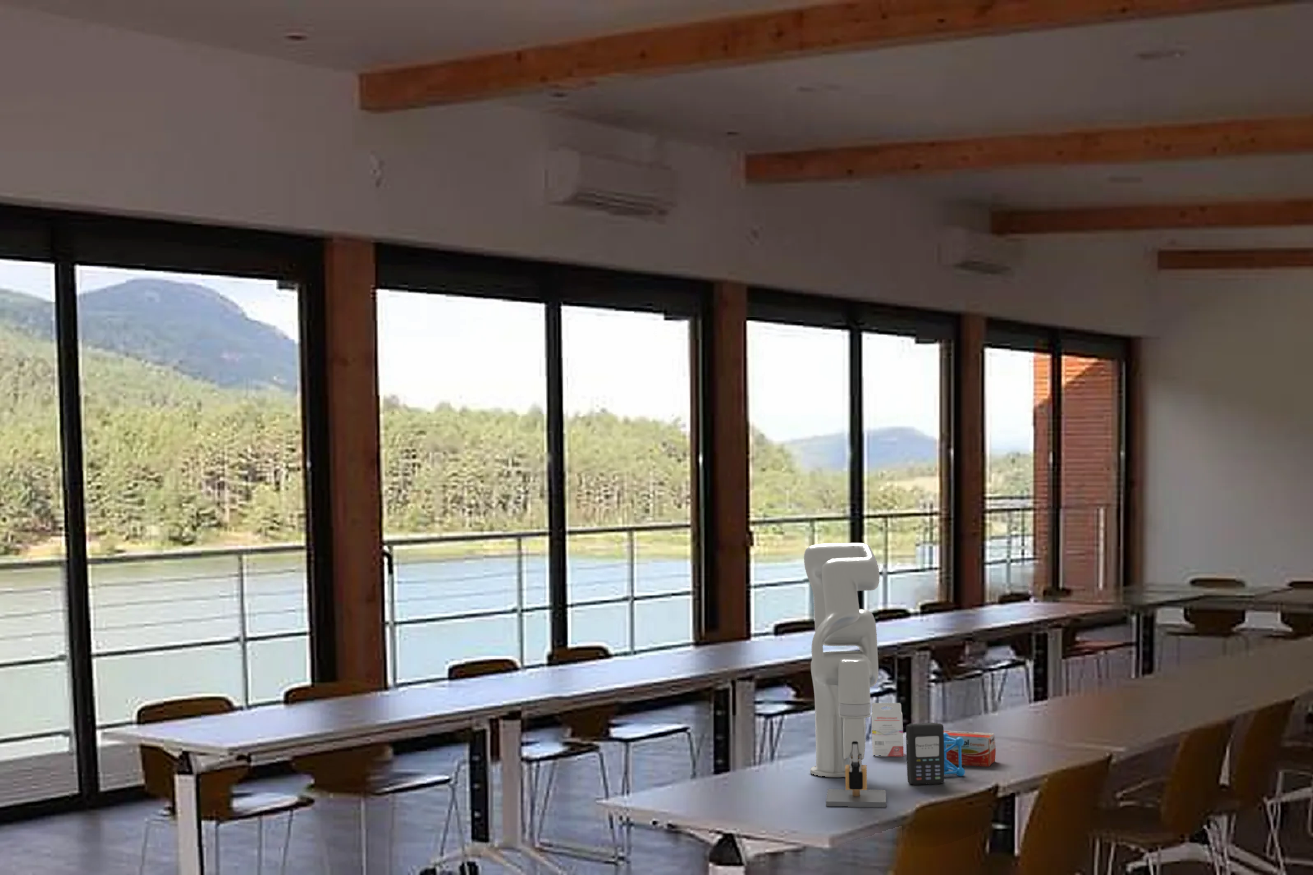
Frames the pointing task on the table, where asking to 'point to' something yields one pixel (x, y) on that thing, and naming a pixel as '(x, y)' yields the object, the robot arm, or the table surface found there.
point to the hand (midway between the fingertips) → (856, 785)
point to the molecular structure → (959, 743)
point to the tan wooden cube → (864, 770)
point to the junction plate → (856, 798)
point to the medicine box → (972, 748)
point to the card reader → (925, 753)
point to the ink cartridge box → (887, 729)
